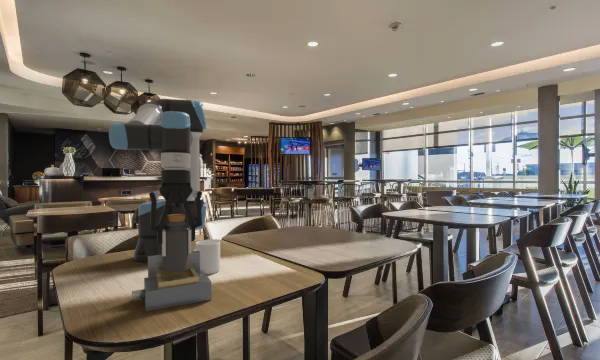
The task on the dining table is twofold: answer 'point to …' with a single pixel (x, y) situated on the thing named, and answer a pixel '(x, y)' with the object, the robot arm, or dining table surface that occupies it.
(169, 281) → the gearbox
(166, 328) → the dining table surface
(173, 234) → the bottle
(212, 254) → the mug
